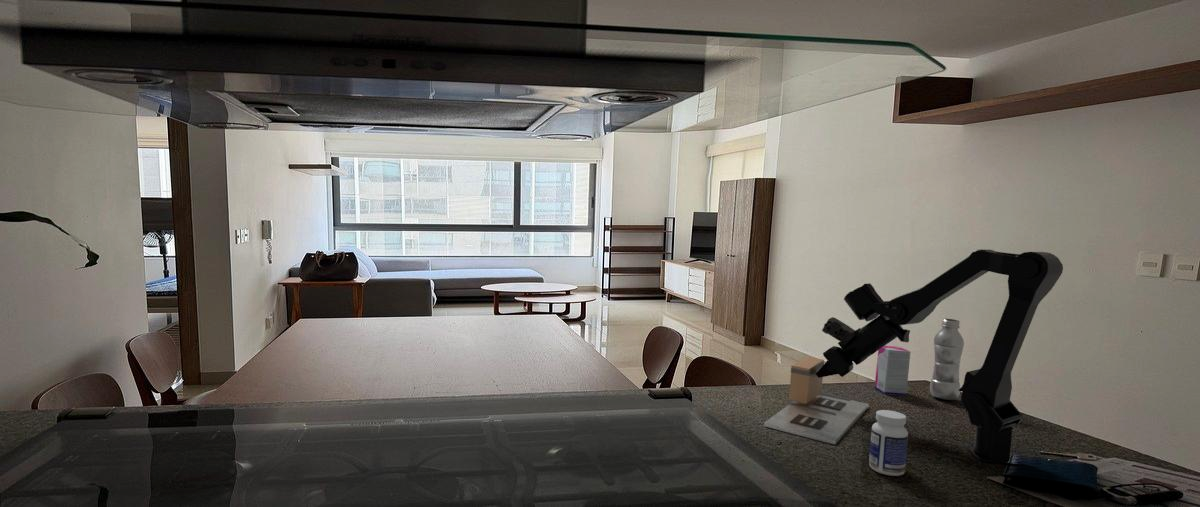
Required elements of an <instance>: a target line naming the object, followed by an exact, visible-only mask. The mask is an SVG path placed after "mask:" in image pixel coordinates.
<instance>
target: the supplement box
mask: <svg viewBox="0 0 1200 507" xmlns="http://www.w3.org/2000/svg"><path fill="white" fill-rule="evenodd" d="M876 360H877V361H876V370H875V378H874V389H875V390H877V391H879V392H880V393H882V394H883V395H890V396H893V395H894V396H906V395H907V393H908V392H907V391H908V390H907V389H908V380H909V372H910V371H909V370H910V363H911V362H910V360H911V351H909V350H908V349H905V348H903V347H901V346H895V345H894V346H892V345H885V346H884V347H882V348H881V349H879V350H878V351H877V359H876Z"/></svg>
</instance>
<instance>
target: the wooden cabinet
mask: <svg viewBox="0 0 1200 507" xmlns="http://www.w3.org/2000/svg"><path fill="white" fill-rule="evenodd" d="M824 364H825V359H821V358H817V357H811V356H806V357H804V358H802V359H800V360H799V361H798V362H796V363H794V364H792V365H791V368H790V382H789V395H788V396H789V398H788V400H789V401H791V402H793V401H797V402H801V403H806V404H807V403H808V402H810V401H811V400H812V399H813V398H815V397H816V396H817V395H818V394H820V393H823V392H822V390H823V378H824V377H820V378H818V377H817V375H816V373H817V372H818V371H819V370H820V368H821V367H822V366H823V365H824Z"/></svg>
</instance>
